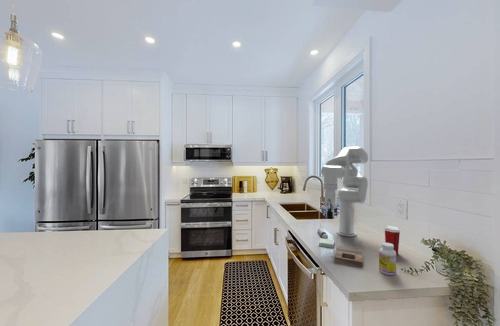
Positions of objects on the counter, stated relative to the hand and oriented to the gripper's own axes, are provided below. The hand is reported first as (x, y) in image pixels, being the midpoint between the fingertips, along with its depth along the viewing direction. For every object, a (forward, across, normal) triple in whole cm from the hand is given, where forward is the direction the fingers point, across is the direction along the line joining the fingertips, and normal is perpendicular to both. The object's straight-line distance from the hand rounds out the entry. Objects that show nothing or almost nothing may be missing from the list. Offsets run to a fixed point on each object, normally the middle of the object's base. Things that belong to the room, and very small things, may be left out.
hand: (330, 217), depth 132 cm
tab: (+17, -2, -2) cm, 18 cm away
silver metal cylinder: (0, 0, 0) cm, 0 cm away
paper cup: (+18, -6, +32) cm, 37 cm away
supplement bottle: (+18, +20, +28) cm, 38 cm away
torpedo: (+18, -19, -8) cm, 27 cm away
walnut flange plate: (+18, +12, +11) cm, 24 cm away
